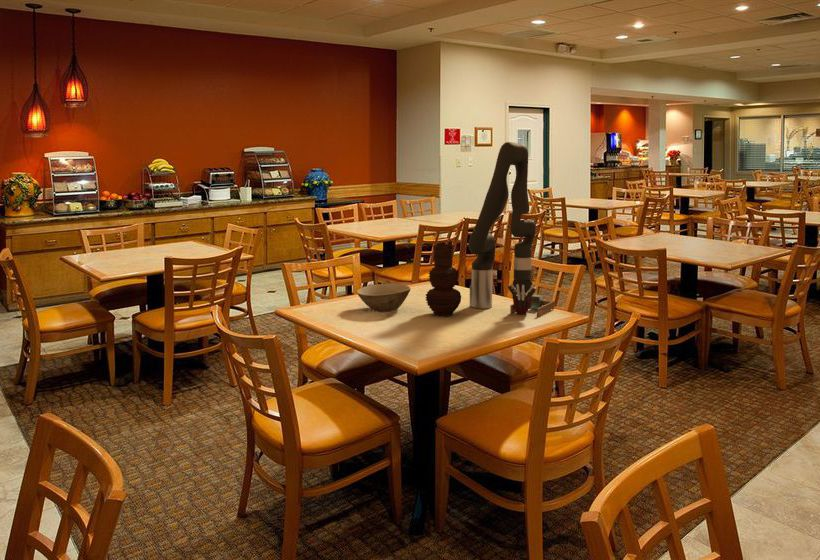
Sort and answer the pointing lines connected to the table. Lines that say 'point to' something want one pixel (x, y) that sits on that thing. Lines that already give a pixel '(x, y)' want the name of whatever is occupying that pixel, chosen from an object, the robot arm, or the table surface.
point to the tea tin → (536, 301)
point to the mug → (519, 311)
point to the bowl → (384, 296)
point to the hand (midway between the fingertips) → (522, 308)
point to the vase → (443, 282)
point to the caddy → (540, 311)
